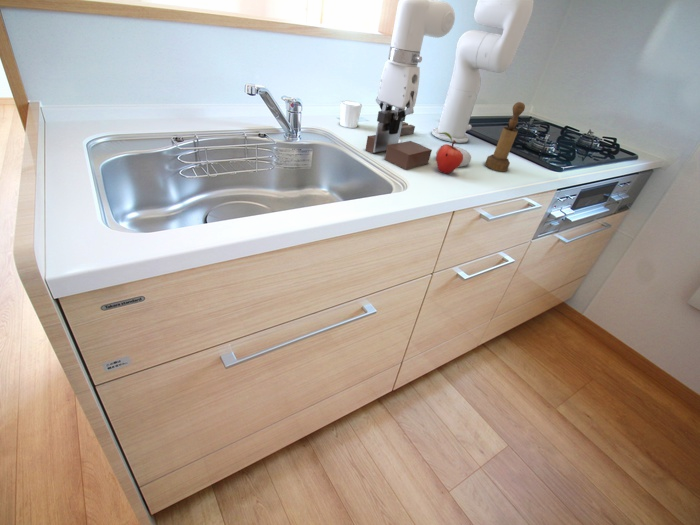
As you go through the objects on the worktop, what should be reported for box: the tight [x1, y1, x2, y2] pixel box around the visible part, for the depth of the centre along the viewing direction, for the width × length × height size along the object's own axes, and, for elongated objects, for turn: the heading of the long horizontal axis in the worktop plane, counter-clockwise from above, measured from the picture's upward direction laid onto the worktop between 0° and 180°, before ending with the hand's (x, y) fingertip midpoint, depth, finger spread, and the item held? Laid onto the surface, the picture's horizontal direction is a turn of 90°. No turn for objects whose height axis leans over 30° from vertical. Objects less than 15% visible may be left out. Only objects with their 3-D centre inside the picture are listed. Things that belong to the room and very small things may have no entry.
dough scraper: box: [373, 109, 407, 153], centre depth 102 cm, size 10×2×11 cm, turn 133°
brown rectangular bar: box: [365, 134, 386, 155], centre depth 105 cm, size 10×3×4 cm, turn 133°
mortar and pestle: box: [484, 101, 526, 172], centre depth 102 cm, size 7×6×18 cm
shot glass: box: [339, 100, 363, 129], centre depth 120 cm, size 7×7×7 cm
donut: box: [435, 145, 472, 167], centre depth 105 cm, size 10×4×10 cm
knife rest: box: [400, 121, 416, 137], centre depth 122 cm, size 12×5×2 cm, turn 133°
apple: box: [435, 132, 463, 174], centre depth 96 cm, size 8×7×10 cm
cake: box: [384, 140, 433, 171], centre depth 100 cm, size 10×8×4 cm
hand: (389, 131), depth 102 cm, fingers closed on dough scraper, 2 cm apart
